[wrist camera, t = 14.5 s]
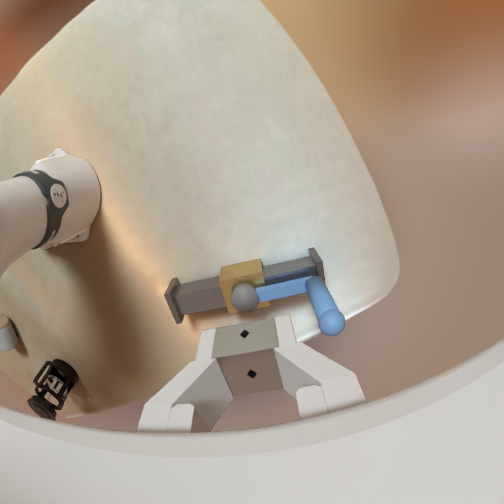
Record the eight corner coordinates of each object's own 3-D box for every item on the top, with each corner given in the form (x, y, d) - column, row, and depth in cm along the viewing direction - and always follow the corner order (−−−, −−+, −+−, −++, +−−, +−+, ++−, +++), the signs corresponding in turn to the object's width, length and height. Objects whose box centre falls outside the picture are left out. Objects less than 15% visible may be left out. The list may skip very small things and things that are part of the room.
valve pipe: (183, 306, 52) (176, 324, 46) (171, 277, 49) (163, 293, 44) (318, 278, 50) (326, 294, 44) (313, 246, 48) (322, 259, 42)
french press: (85, 383, 61) (56, 443, 40) (66, 383, 62) (36, 438, 41) (62, 353, 57) (24, 412, 36) (44, 354, 58) (7, 408, 36)
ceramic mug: (13, 316, 53) (-2, 331, 46) (22, 339, 56) (9, 354, 49) (-6, 310, 53) (-20, 323, 46) (3, 332, 56) (-10, 345, 49)
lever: (235, 308, 45) (232, 365, 33) (228, 285, 44) (222, 339, 31) (323, 289, 44) (349, 340, 32) (320, 265, 43) (348, 312, 30)
